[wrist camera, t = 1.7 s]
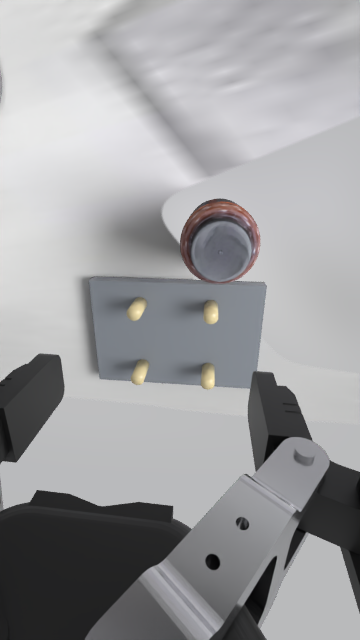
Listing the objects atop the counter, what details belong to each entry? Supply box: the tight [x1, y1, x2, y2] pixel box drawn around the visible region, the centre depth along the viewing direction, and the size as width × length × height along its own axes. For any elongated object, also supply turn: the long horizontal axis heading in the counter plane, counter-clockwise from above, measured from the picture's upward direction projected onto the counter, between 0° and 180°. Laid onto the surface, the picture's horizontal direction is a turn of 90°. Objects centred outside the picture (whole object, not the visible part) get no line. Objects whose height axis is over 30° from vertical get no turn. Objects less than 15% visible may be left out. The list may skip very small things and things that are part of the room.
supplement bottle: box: [180, 199, 260, 284], centre depth 25 cm, size 6×6×11 cm
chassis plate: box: [89, 277, 267, 389], centre depth 33 cm, size 12×18×4 cm, turn 89°
